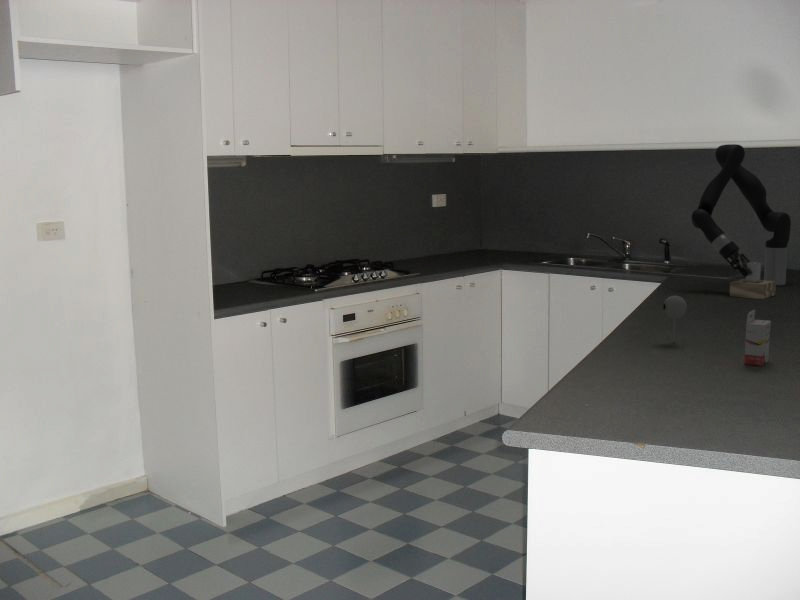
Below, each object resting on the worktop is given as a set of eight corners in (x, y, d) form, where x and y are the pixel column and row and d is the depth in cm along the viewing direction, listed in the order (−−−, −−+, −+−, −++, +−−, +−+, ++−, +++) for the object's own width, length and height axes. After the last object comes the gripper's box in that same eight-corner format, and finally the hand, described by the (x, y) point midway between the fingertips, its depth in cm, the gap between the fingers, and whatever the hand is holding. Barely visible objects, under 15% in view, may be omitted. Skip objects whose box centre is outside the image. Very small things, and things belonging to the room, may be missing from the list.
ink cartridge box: (762, 366, 247) (764, 314, 244) (743, 364, 249) (746, 313, 247) (769, 360, 254) (771, 310, 251) (751, 358, 256) (753, 308, 254)
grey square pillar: (749, 294, 379) (750, 262, 377) (759, 295, 376) (760, 262, 374) (745, 295, 376) (746, 263, 374) (755, 296, 373) (756, 263, 371)
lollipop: (658, 340, 285) (660, 294, 283) (680, 339, 285) (681, 293, 283) (667, 344, 278) (668, 297, 276) (689, 344, 278) (690, 296, 276)
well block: (742, 292, 386) (742, 278, 385) (775, 295, 377) (775, 281, 376) (729, 296, 376) (730, 282, 375) (762, 299, 366) (763, 284, 366)
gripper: (725, 241, 374) (751, 270, 368) (738, 239, 384) (763, 267, 379) (712, 253, 378) (738, 282, 372) (725, 250, 389) (750, 278, 383)
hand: (750, 274), depth 375 cm, fingers open, 8 cm apart
